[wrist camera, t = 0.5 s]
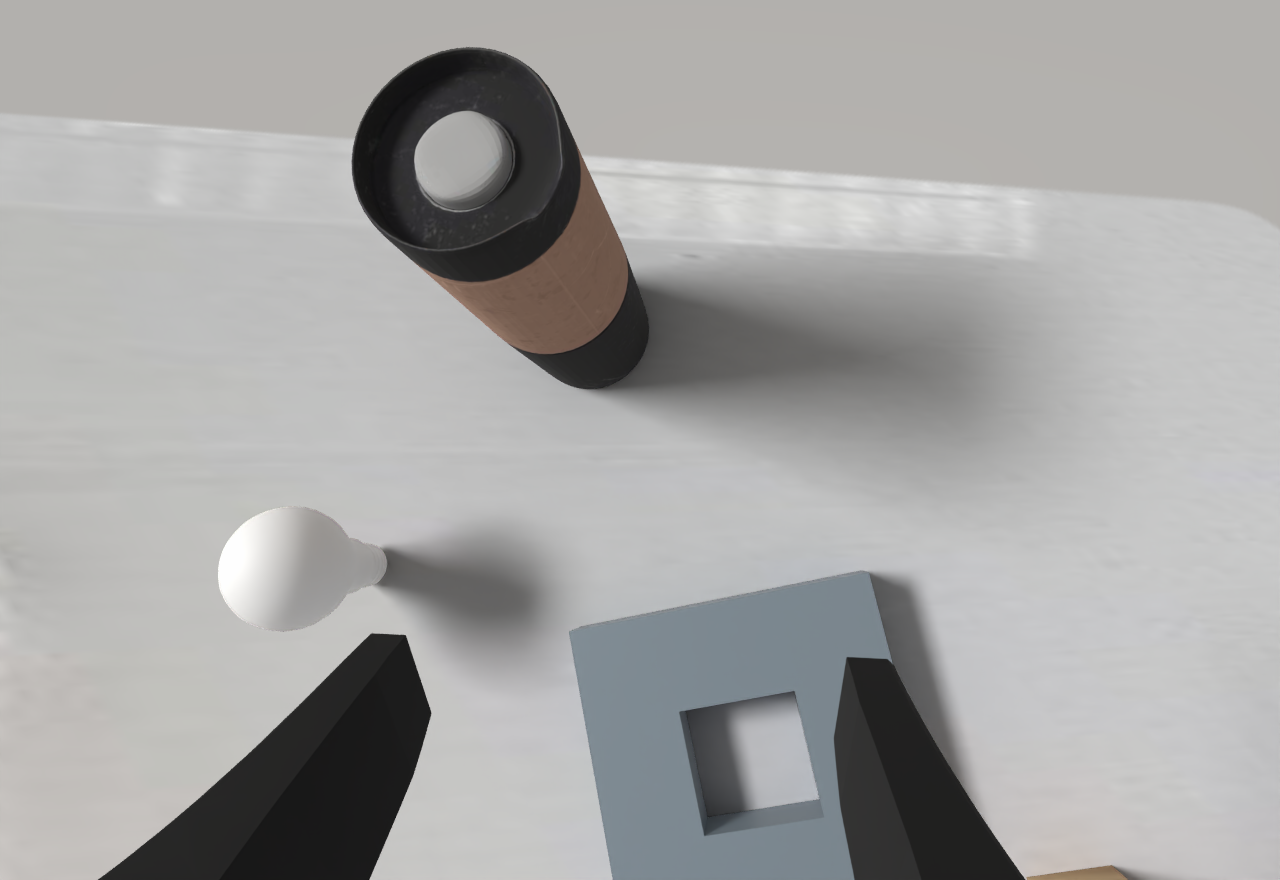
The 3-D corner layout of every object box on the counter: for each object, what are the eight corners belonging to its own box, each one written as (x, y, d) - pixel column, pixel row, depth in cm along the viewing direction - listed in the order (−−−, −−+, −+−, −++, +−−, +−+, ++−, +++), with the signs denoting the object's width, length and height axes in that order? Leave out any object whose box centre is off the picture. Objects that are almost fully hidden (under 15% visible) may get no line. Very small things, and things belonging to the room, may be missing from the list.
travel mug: (518, 298, 43) (325, 92, 24) (632, 256, 43) (530, 7, 23) (550, 411, 42) (373, 289, 22) (670, 369, 41) (593, 206, 22)
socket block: (943, 889, 35) (958, 915, 32) (635, 932, 37) (627, 959, 34) (861, 570, 38) (868, 571, 35) (580, 626, 40) (568, 631, 37)
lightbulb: (401, 497, 43) (282, 480, 32) (435, 590, 41) (324, 604, 31) (316, 540, 43) (170, 536, 32) (348, 632, 42) (207, 661, 31)
